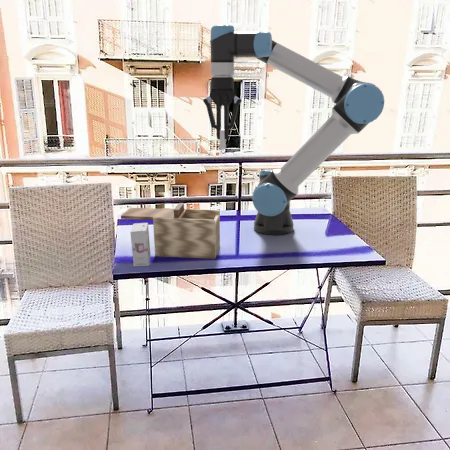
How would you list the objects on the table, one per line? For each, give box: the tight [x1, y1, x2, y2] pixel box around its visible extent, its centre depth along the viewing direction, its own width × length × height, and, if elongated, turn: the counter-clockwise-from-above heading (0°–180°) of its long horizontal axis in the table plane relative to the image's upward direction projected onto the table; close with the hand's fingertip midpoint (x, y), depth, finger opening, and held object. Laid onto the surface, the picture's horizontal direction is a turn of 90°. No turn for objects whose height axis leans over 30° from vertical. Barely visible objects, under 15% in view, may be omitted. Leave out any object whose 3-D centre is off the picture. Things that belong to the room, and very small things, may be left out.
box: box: [152, 207, 221, 260], centre depth 153 cm, size 20×11×13 cm, turn 83°
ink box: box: [130, 222, 152, 267], centre depth 146 cm, size 9×5×12 cm, turn 5°
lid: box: [120, 202, 186, 221], centre depth 153 cm, size 20×10×4 cm, turn 83°
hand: (222, 148), depth 158 cm, fingers closed
